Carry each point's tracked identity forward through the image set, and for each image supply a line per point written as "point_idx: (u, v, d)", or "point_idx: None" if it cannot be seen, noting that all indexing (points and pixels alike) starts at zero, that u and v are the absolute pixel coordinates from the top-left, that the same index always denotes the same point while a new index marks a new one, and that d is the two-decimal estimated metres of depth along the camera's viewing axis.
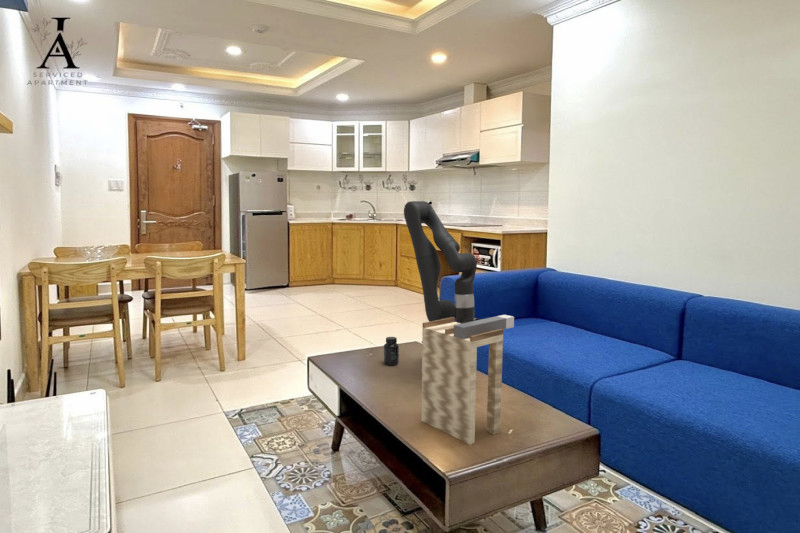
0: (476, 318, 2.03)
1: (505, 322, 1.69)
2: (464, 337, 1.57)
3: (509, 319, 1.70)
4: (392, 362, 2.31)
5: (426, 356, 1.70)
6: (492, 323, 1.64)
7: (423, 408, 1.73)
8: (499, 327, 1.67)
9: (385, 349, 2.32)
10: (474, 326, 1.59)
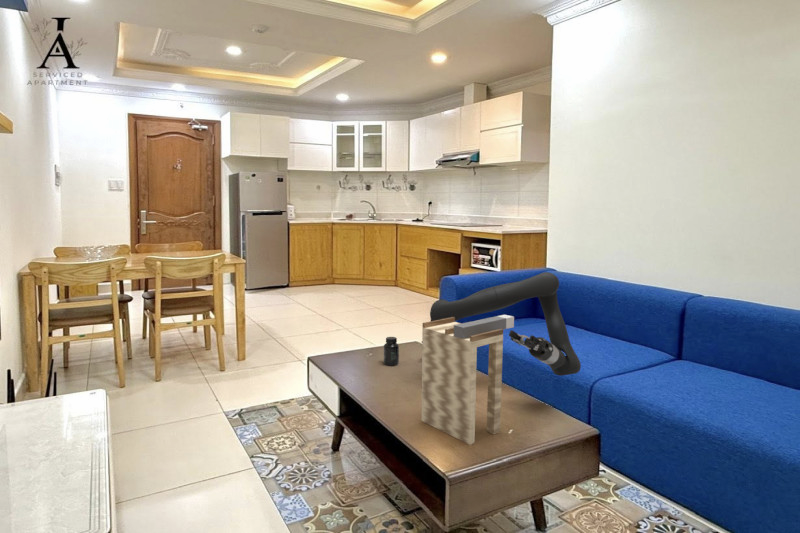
0: None
1: (505, 322, 1.69)
2: (464, 337, 1.57)
3: (509, 319, 1.70)
4: (392, 362, 2.31)
5: (426, 356, 1.70)
6: (492, 323, 1.64)
7: (423, 408, 1.73)
8: (499, 327, 1.67)
9: (385, 349, 2.32)
10: (474, 326, 1.59)
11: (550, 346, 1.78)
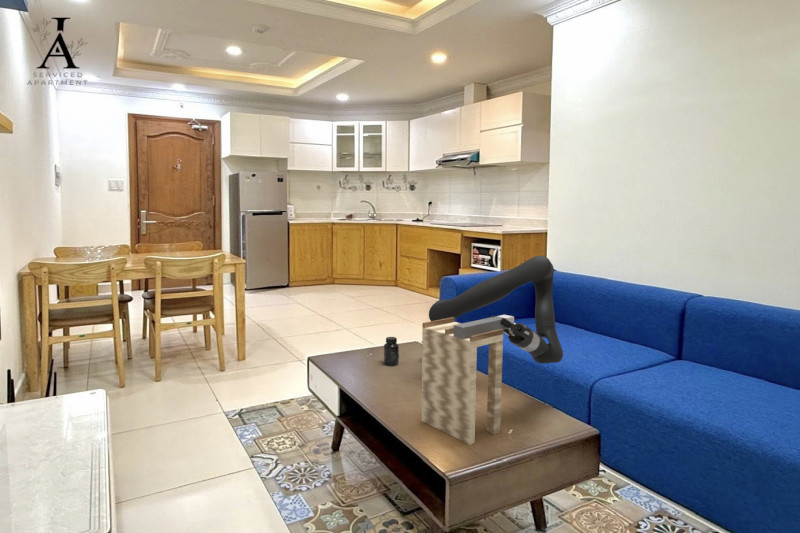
0: None
1: None
2: (464, 337, 1.57)
3: (509, 319, 1.70)
4: (392, 362, 2.31)
5: (426, 356, 1.70)
6: (492, 323, 1.64)
7: (423, 408, 1.73)
8: (499, 327, 1.67)
9: (385, 349, 2.32)
10: (474, 326, 1.59)
11: (525, 330, 1.69)
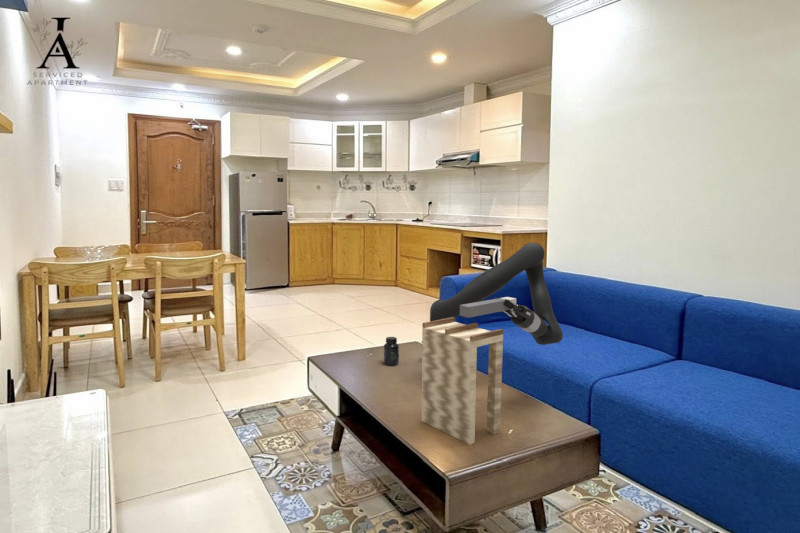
0: None
1: None
2: (469, 316, 1.68)
3: (512, 301, 1.81)
4: (392, 362, 2.31)
5: (426, 356, 1.70)
6: (496, 304, 1.75)
7: (423, 408, 1.73)
8: (502, 308, 1.78)
9: (385, 349, 2.32)
10: (479, 306, 1.70)
11: (527, 310, 1.80)
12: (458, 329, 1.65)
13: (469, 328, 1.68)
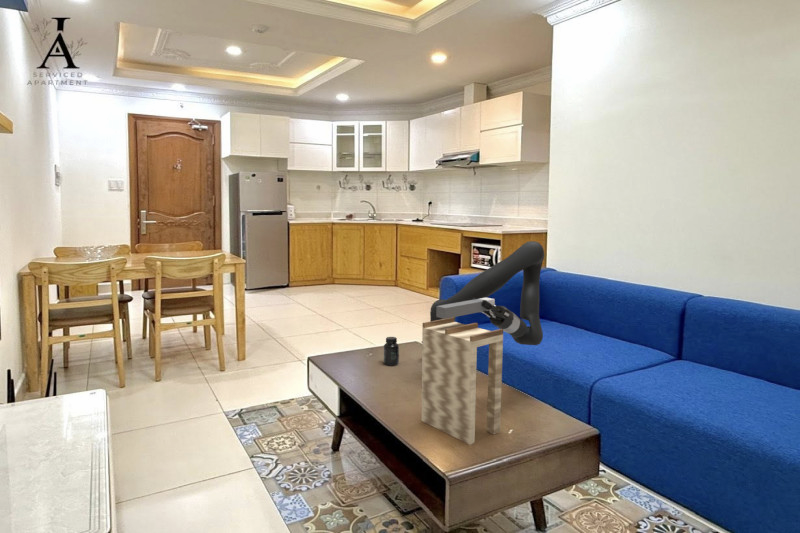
0: None
1: None
2: (446, 317, 1.66)
3: (490, 301, 1.79)
4: (392, 362, 2.31)
5: (426, 356, 1.70)
6: (473, 305, 1.74)
7: (423, 408, 1.73)
8: (480, 309, 1.76)
9: (385, 349, 2.32)
10: (456, 307, 1.68)
11: (505, 311, 1.78)
12: (458, 329, 1.65)
13: (469, 328, 1.68)
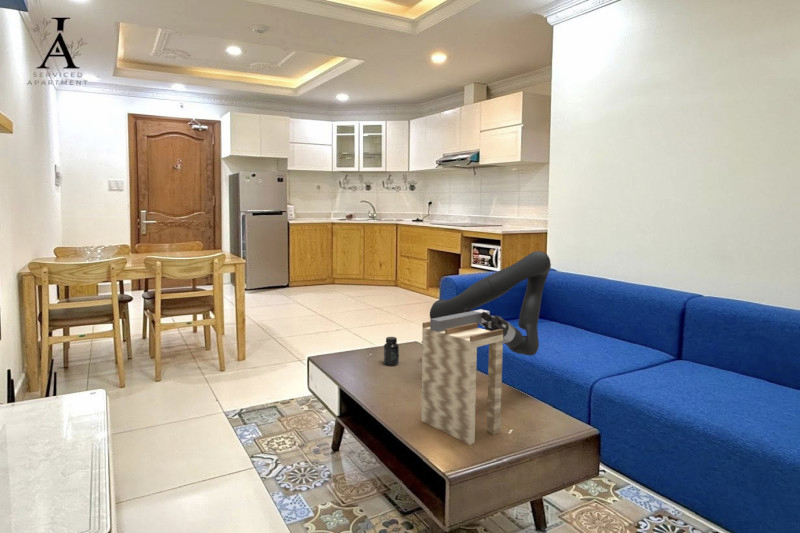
0: None
1: None
2: (440, 330, 1.65)
3: None
4: (392, 362, 2.31)
5: (426, 356, 1.70)
6: (468, 317, 1.73)
7: (423, 408, 1.73)
8: (475, 321, 1.75)
9: (385, 349, 2.32)
10: (450, 320, 1.67)
11: (503, 323, 1.77)
12: (458, 329, 1.65)
13: (469, 328, 1.68)
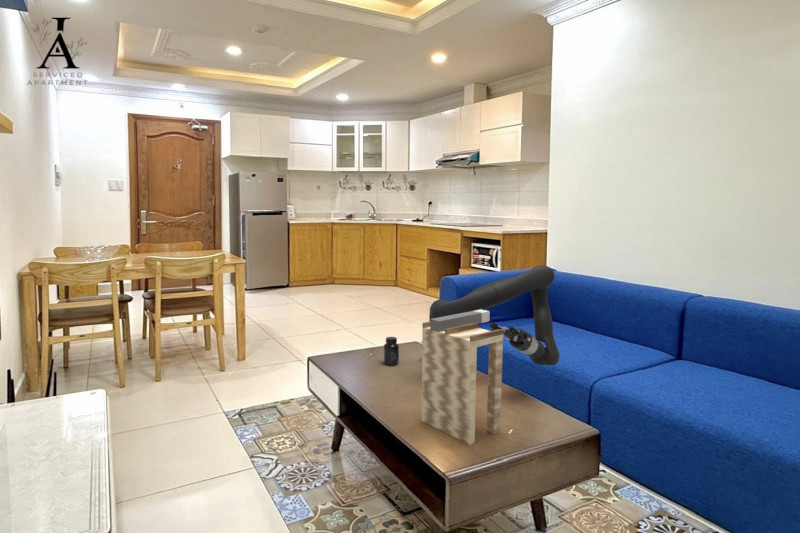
0: None
1: (481, 316, 1.77)
2: (440, 330, 1.65)
3: (484, 313, 1.78)
4: (392, 362, 2.31)
5: (426, 356, 1.70)
6: (468, 317, 1.73)
7: (423, 408, 1.73)
8: (475, 321, 1.75)
9: (385, 349, 2.32)
10: (450, 320, 1.67)
11: (528, 337, 1.87)
12: (458, 329, 1.65)
13: (469, 328, 1.68)
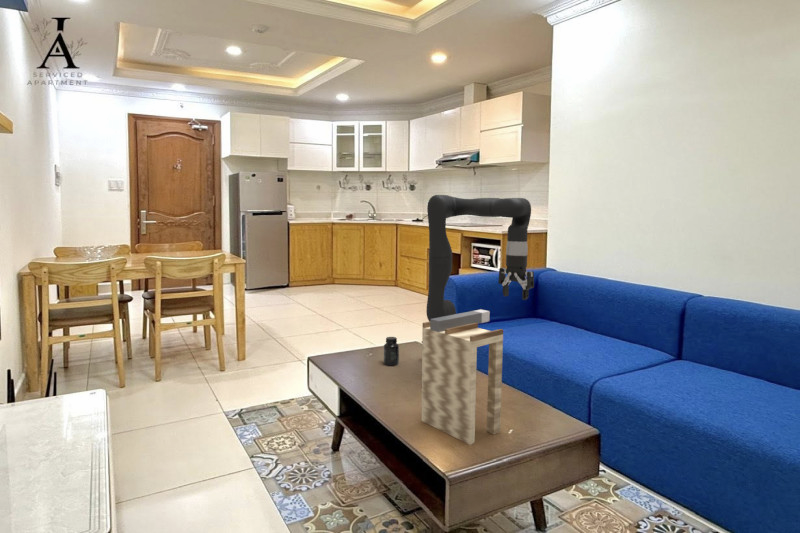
0: None
1: (481, 316, 1.77)
2: (440, 330, 1.65)
3: (484, 313, 1.78)
4: (392, 362, 2.31)
5: (426, 356, 1.70)
6: (468, 317, 1.73)
7: (423, 408, 1.73)
8: (475, 321, 1.75)
9: (385, 349, 2.32)
10: (450, 320, 1.67)
11: (530, 277, 1.84)
12: (458, 329, 1.65)
13: (469, 328, 1.68)
